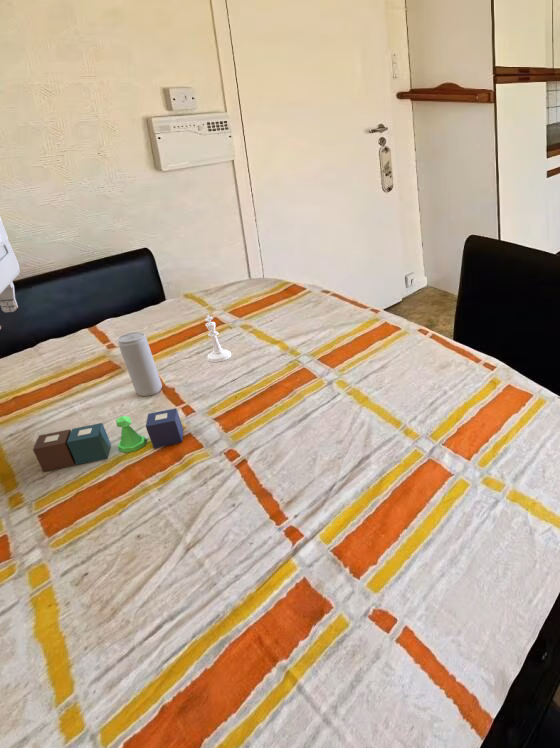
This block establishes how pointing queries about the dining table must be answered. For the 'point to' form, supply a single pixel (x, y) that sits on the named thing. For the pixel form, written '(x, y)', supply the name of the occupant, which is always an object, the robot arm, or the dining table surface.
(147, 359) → the beverage can
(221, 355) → the chess piece
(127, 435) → the game piece
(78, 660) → the dining table surface
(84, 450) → the letter blocks
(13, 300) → the robot arm
